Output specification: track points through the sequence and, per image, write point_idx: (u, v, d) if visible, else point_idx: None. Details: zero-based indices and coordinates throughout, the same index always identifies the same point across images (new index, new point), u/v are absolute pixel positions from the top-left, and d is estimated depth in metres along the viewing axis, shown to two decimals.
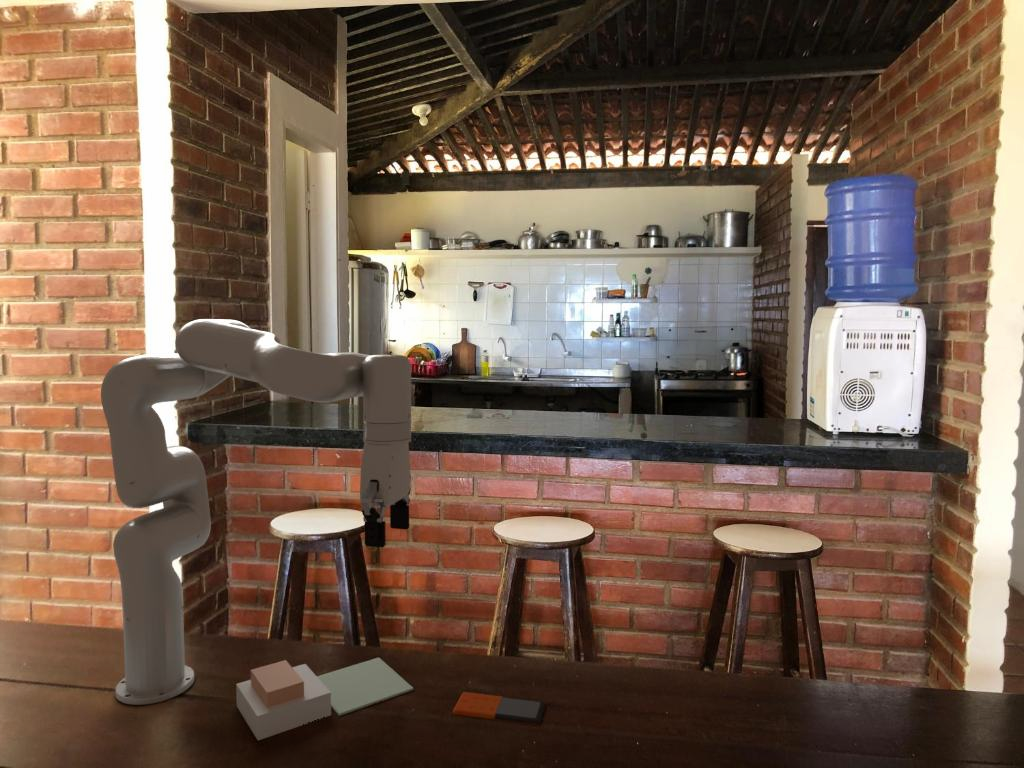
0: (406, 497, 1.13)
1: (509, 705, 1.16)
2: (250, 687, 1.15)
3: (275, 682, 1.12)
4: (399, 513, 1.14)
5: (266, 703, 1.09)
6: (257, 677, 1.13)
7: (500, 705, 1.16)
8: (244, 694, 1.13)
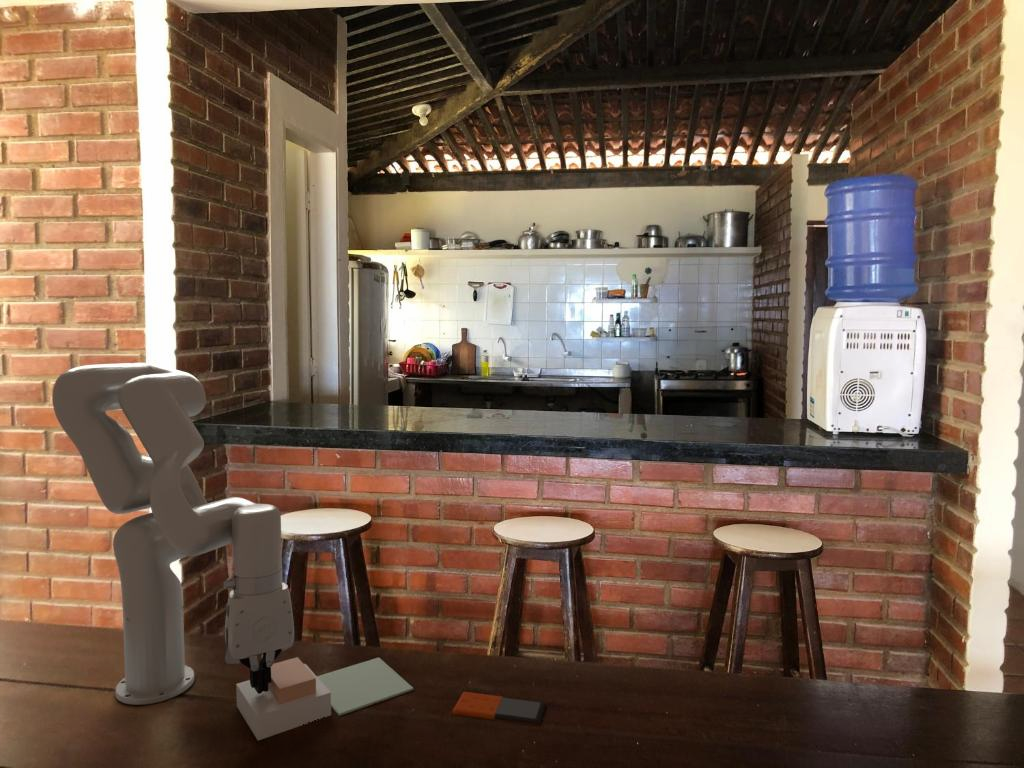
0: None
1: (509, 706, 1.16)
2: (250, 687, 1.15)
3: (287, 679, 1.13)
4: None
5: (278, 699, 1.10)
6: None
7: (500, 705, 1.16)
8: (244, 694, 1.13)
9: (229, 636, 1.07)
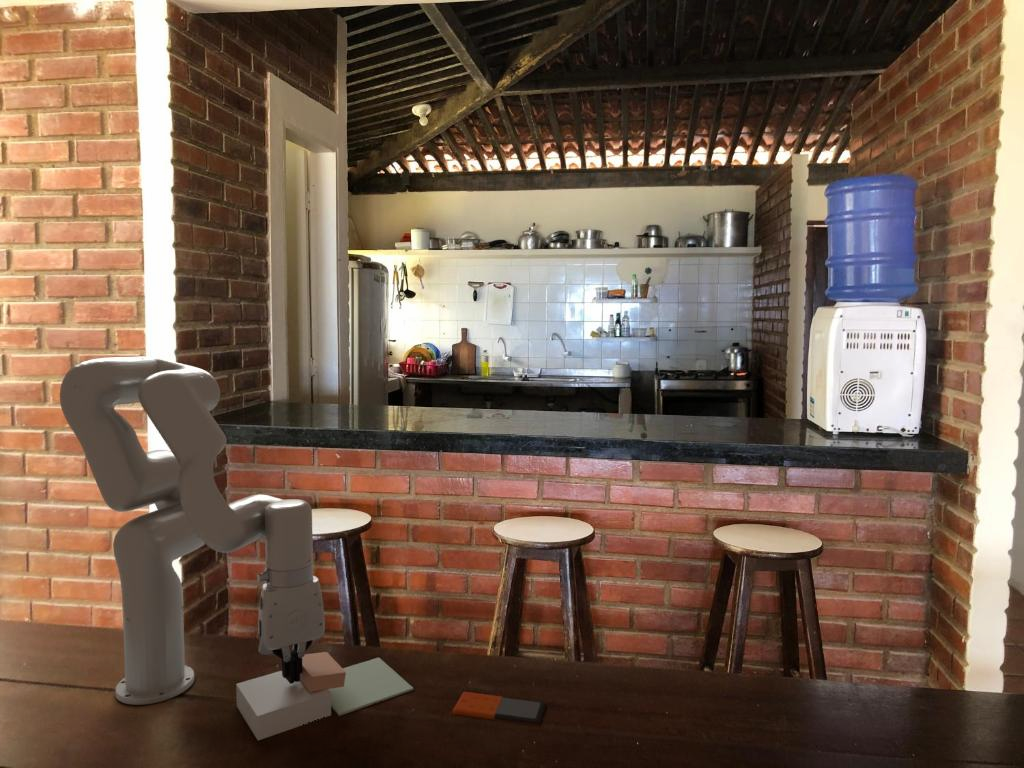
0: None
1: (509, 706, 1.16)
2: (250, 687, 1.15)
3: (319, 669, 1.16)
4: None
5: (309, 687, 1.13)
6: None
7: (500, 705, 1.16)
8: (244, 694, 1.13)
9: (263, 627, 1.10)
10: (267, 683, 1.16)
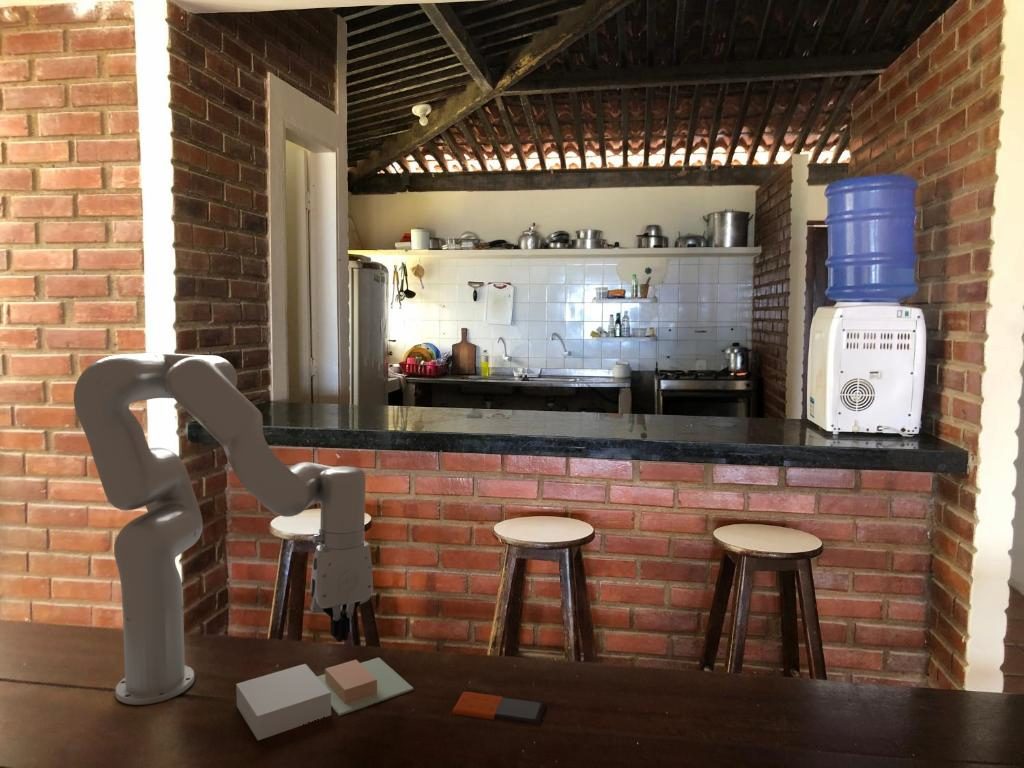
0: None
1: (509, 706, 1.16)
2: (250, 687, 1.15)
3: None
4: None
5: None
6: None
7: (500, 705, 1.16)
8: (244, 694, 1.13)
9: (317, 586, 1.16)
10: (267, 683, 1.16)
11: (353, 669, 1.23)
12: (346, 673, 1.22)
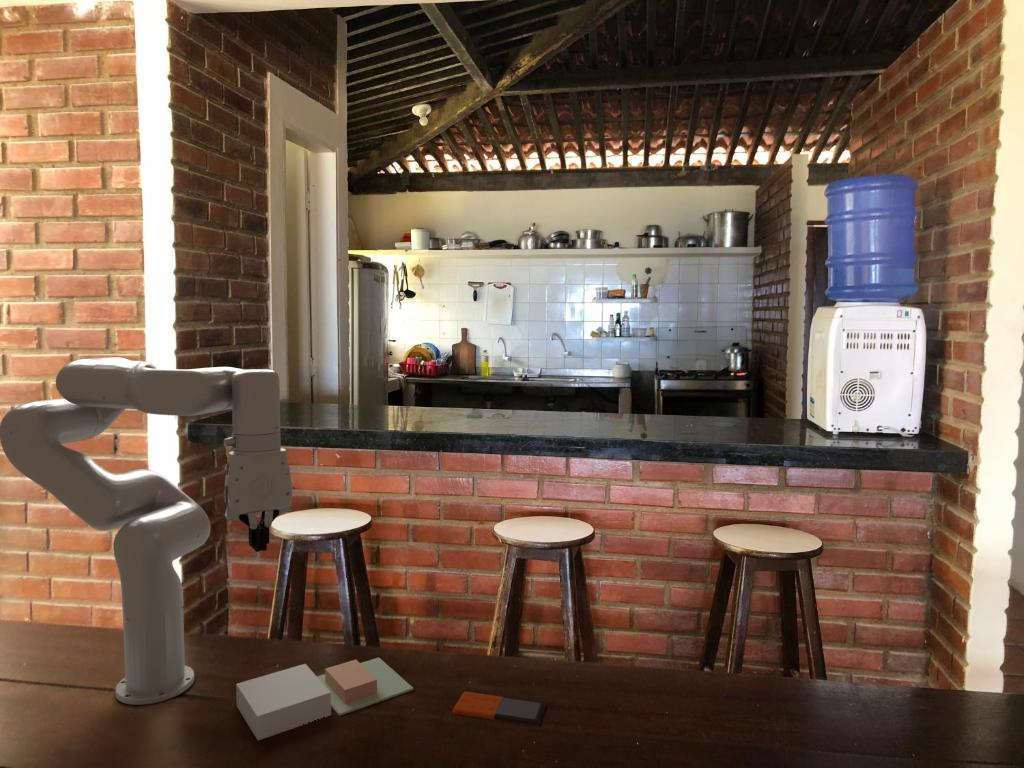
0: None
1: (509, 706, 1.16)
2: (250, 687, 1.15)
3: None
4: None
5: None
6: None
7: (500, 706, 1.16)
8: (244, 694, 1.13)
9: (229, 491, 1.10)
10: (267, 683, 1.16)
11: (353, 669, 1.23)
12: (346, 673, 1.22)
